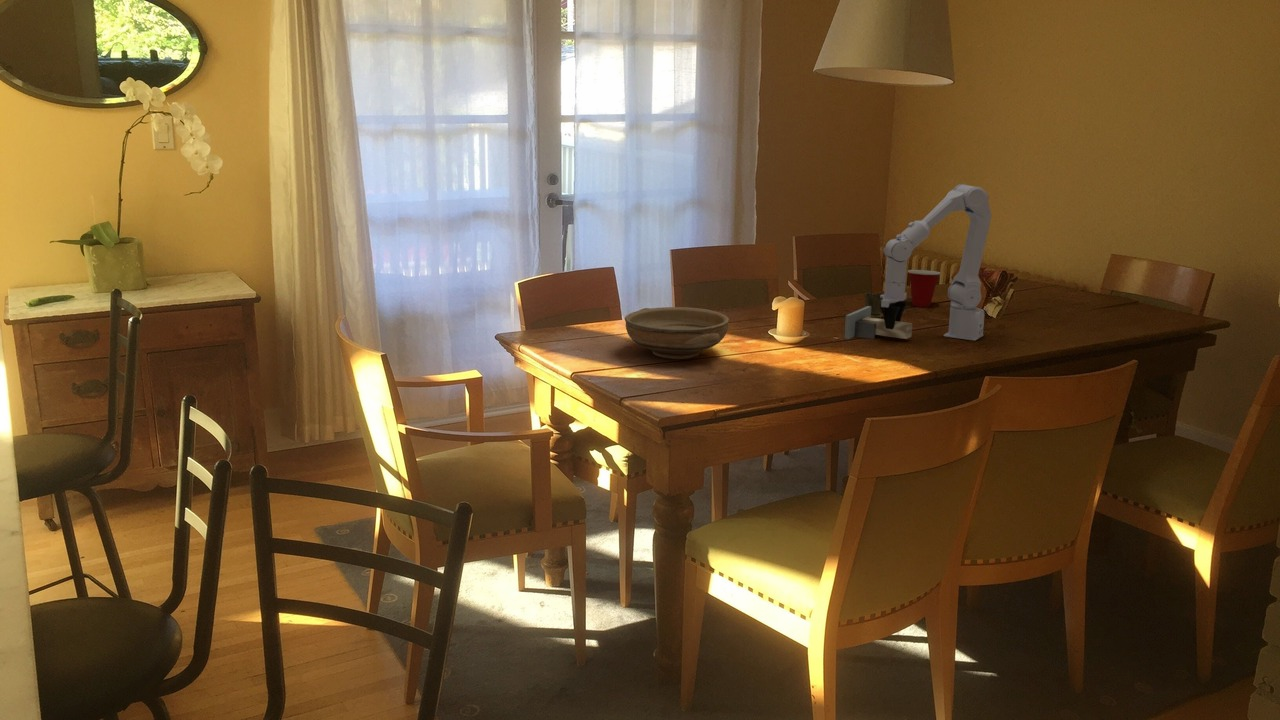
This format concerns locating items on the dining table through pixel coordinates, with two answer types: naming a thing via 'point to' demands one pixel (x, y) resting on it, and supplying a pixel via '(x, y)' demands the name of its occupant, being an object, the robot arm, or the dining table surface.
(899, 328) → the rail
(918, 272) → the plastic cup
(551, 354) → the dining table surface
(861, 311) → the backboard
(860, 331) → the bracket
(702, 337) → the ceramic bowl
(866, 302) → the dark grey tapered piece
